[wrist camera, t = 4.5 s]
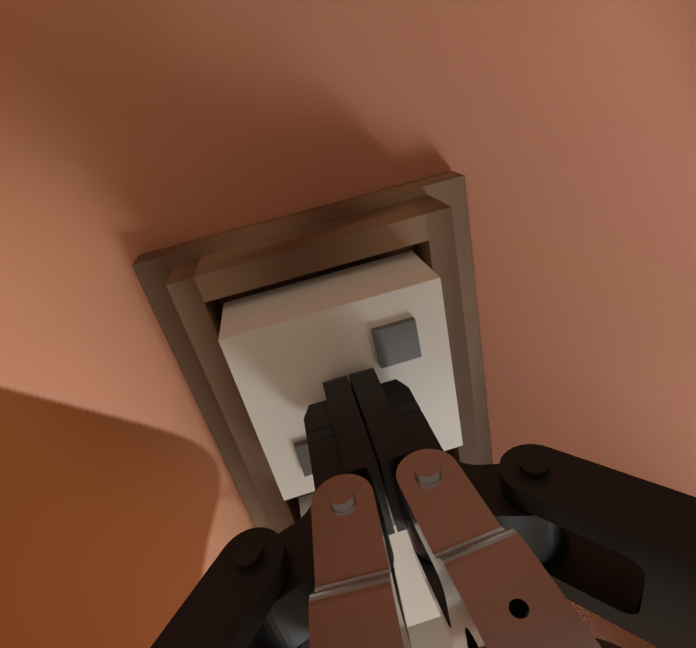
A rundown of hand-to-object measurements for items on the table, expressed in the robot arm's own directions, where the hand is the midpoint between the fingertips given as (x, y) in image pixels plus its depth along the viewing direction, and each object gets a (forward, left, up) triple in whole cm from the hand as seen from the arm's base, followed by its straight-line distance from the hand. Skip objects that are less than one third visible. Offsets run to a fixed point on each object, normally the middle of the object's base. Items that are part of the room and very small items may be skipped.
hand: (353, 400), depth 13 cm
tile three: (0, 0, -3) cm, 3 cm away
